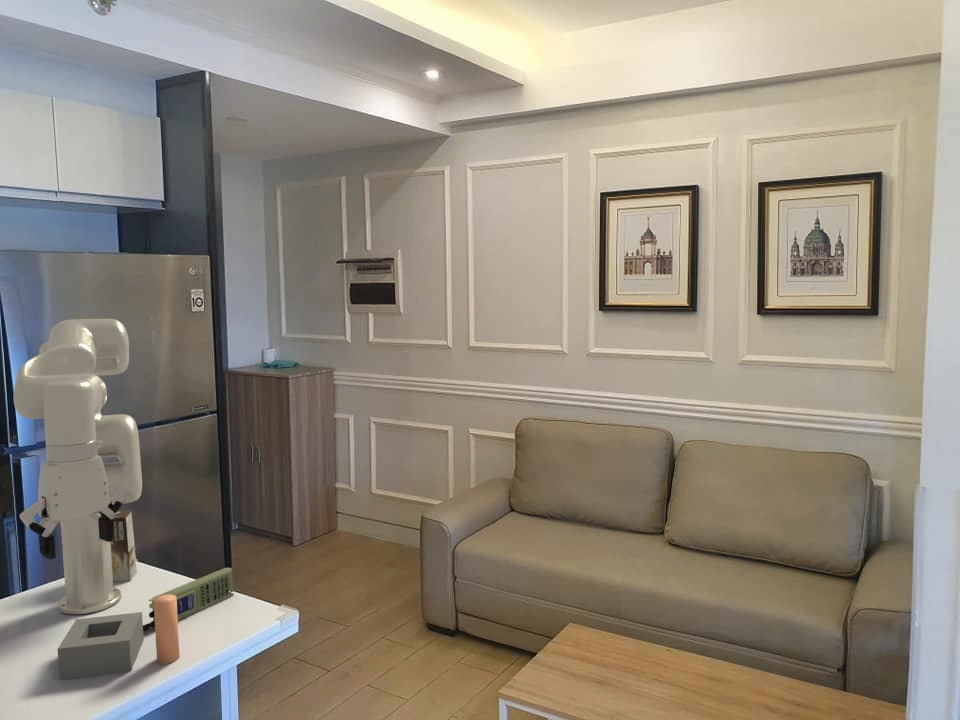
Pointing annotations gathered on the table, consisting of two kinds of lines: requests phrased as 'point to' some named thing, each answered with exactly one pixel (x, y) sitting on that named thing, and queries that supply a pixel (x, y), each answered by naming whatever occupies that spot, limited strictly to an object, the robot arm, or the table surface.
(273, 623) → the table surface
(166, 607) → the peg
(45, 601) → the table surface
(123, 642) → the socket block
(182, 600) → the handheld radio
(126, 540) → the coffee box
